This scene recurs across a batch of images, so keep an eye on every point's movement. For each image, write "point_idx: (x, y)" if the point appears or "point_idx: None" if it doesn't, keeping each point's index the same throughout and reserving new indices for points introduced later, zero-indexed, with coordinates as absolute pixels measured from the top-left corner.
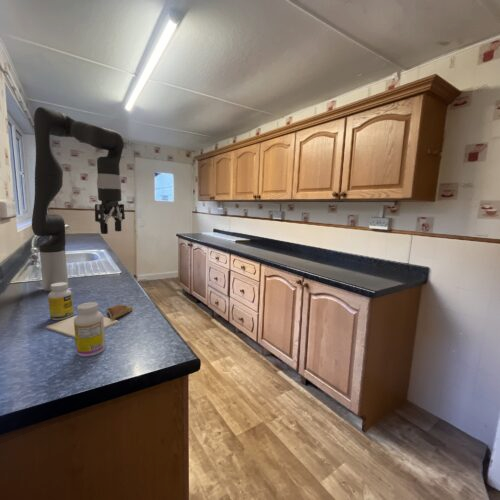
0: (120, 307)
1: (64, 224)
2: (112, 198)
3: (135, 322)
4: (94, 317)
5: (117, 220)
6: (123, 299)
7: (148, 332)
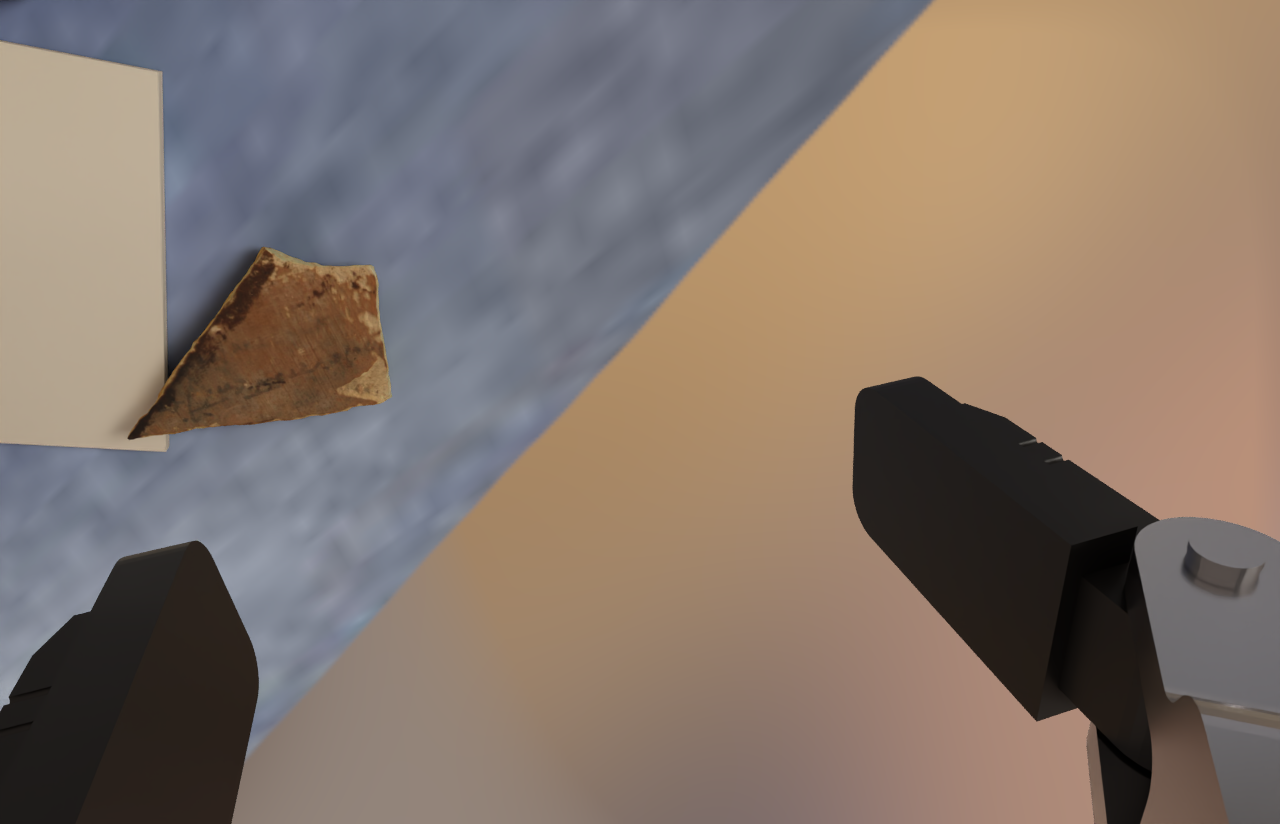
0: (320, 345)
1: None
2: None
3: (230, 537)
4: None
5: (1104, 669)
6: (576, 140)
7: None
